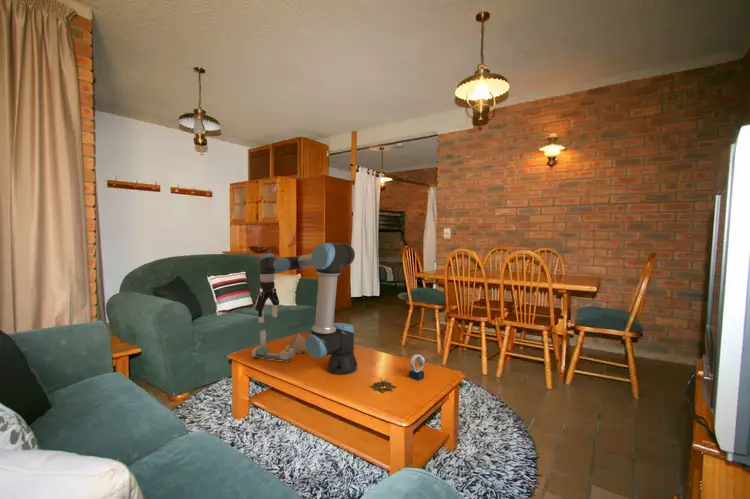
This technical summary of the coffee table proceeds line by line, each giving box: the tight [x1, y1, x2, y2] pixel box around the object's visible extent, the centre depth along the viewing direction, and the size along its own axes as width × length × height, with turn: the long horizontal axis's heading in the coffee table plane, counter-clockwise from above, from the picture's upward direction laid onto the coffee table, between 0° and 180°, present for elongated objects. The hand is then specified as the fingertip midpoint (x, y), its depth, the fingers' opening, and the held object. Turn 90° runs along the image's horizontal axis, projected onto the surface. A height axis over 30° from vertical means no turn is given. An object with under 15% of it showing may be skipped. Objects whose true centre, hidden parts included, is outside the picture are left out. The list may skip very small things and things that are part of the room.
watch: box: [408, 353, 426, 382], centre depth 159 cm, size 6×8×11 cm
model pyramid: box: [282, 333, 308, 355], centre depth 200 cm, size 17×17×10 cm
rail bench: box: [251, 345, 295, 362], centre depth 185 cm, size 22×7×5 cm, turn 75°
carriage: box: [257, 329, 270, 355], centre depth 187 cm, size 4×5×13 cm
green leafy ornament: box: [369, 377, 397, 394], centre depth 150 cm, size 12×12×5 cm
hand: (268, 319), depth 185 cm, fingers open, 13 cm apart
